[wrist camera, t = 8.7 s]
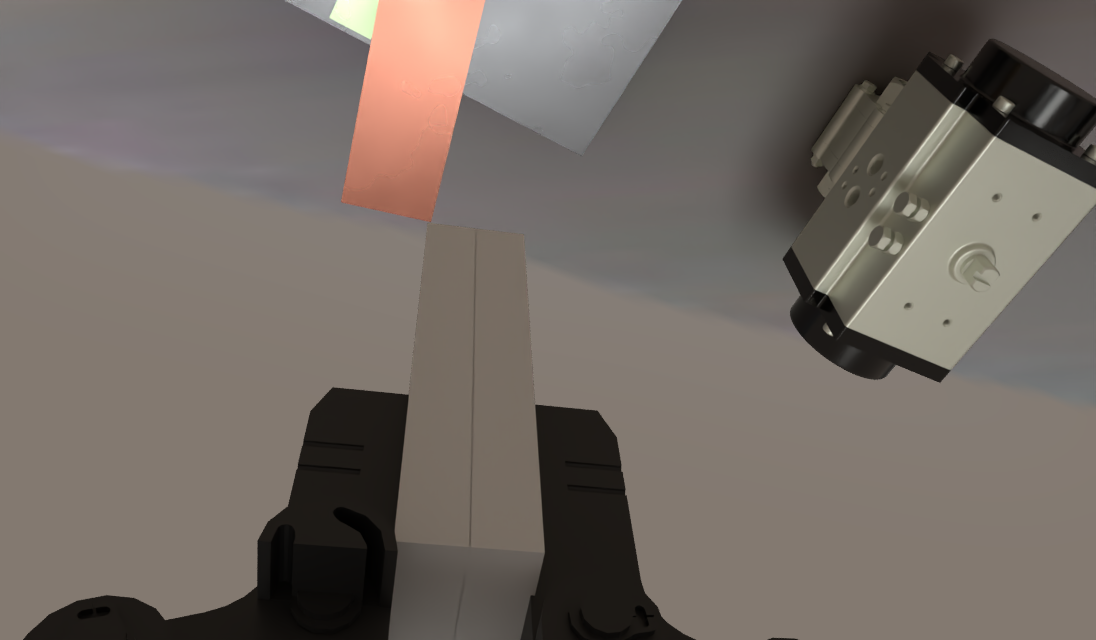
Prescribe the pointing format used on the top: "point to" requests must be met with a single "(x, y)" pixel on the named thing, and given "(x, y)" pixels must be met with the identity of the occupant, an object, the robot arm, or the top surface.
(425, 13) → the scoop with pink handle
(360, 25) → the grey plate with post
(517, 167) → the top surface
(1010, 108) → the pneumatic valve
